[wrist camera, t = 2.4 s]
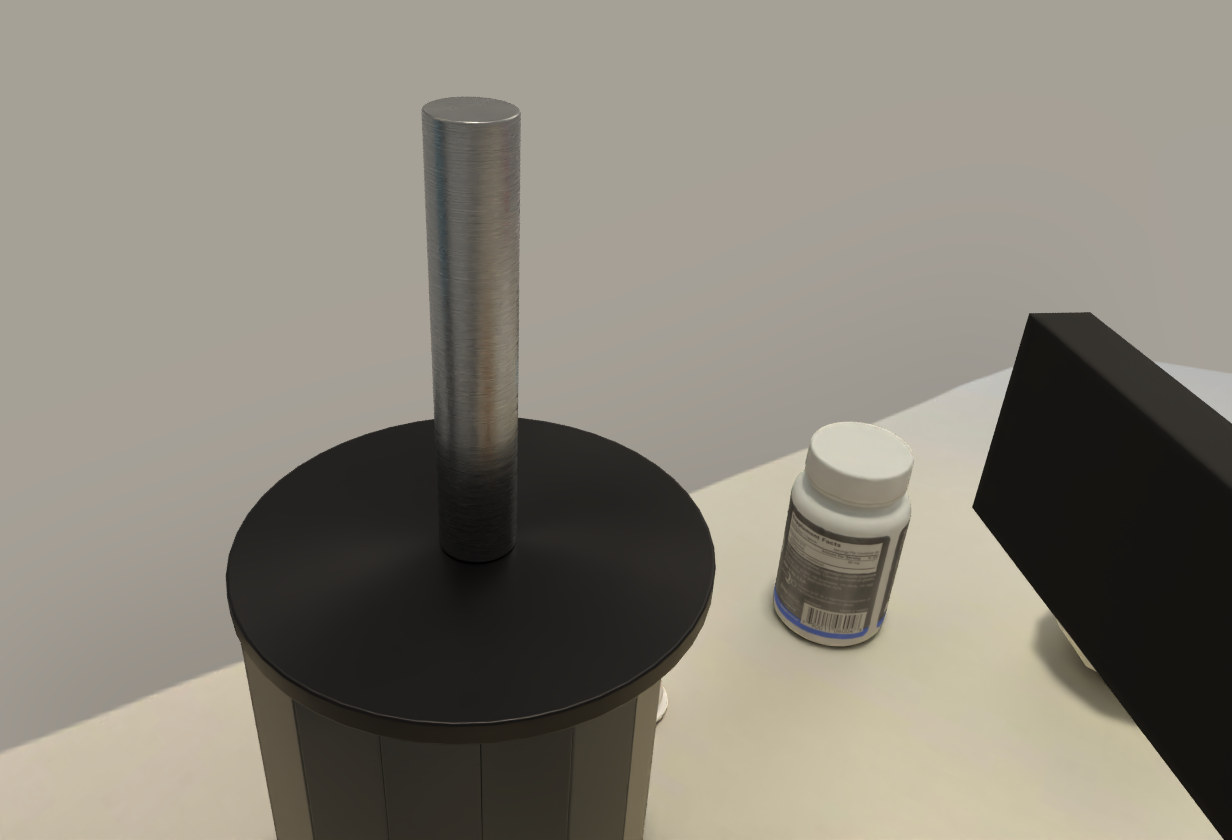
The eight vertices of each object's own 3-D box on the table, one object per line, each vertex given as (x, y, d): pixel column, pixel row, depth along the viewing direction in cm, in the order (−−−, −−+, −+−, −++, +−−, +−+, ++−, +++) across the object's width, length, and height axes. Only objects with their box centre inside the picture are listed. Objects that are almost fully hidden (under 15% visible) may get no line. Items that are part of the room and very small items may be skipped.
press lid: (271, 843, 18) (159, 254, 12) (209, 494, 26) (126, 51, 21) (801, 677, 22) (908, 181, 16) (599, 422, 31) (622, 37, 25)
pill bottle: (819, 561, 46) (852, 403, 42) (904, 617, 43) (949, 454, 39) (748, 603, 43) (775, 439, 39) (834, 667, 40) (874, 497, 36)
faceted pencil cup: (330, 1135, 25) (264, 779, 18) (273, 812, 33) (212, 476, 26) (689, 984, 29) (748, 641, 22) (562, 726, 37) (576, 412, 30)
